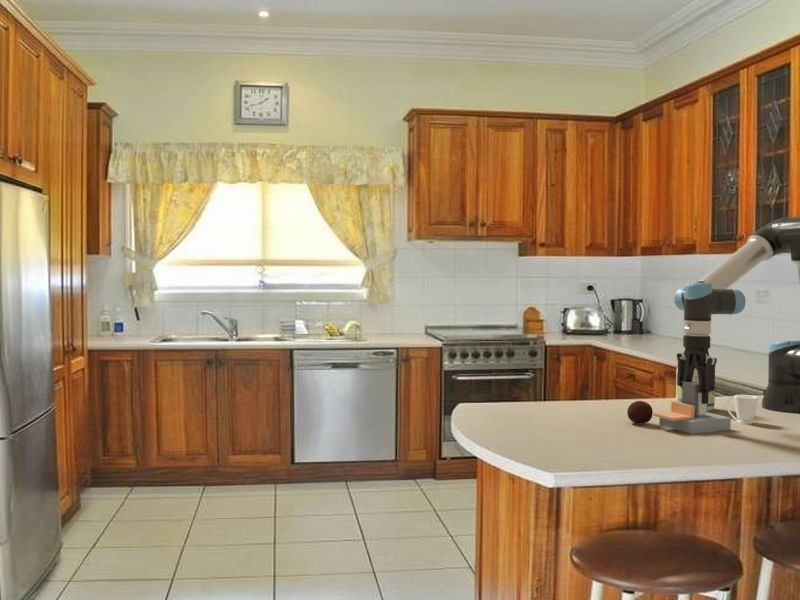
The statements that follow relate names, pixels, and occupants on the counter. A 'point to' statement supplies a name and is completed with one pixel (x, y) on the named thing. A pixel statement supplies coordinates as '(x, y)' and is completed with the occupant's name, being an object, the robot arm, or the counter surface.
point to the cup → (744, 408)
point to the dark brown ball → (640, 412)
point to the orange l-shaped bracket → (677, 412)
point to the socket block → (699, 423)
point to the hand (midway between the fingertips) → (694, 412)
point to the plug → (691, 394)
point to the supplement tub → (695, 378)
